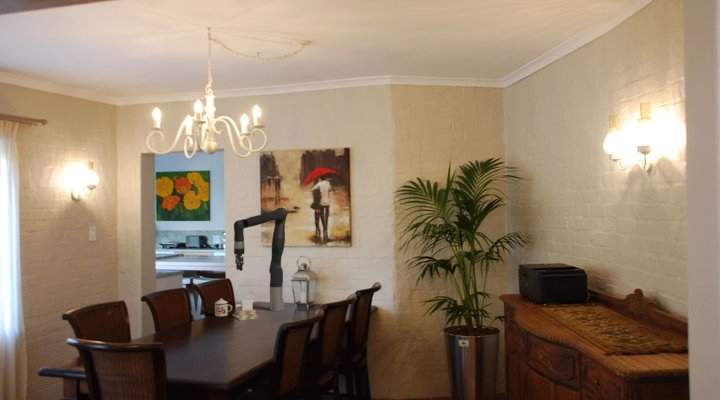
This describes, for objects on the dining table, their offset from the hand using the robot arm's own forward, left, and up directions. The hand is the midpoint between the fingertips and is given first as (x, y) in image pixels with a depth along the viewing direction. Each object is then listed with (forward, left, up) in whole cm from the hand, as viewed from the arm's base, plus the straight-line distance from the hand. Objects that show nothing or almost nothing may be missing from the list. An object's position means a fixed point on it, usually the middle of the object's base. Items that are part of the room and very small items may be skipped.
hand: (239, 270), depth 408 cm
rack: (+2, +24, -30) cm, 39 cm away
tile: (+1, +24, -29) cm, 37 cm away
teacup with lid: (+14, +8, -30) cm, 34 cm away
